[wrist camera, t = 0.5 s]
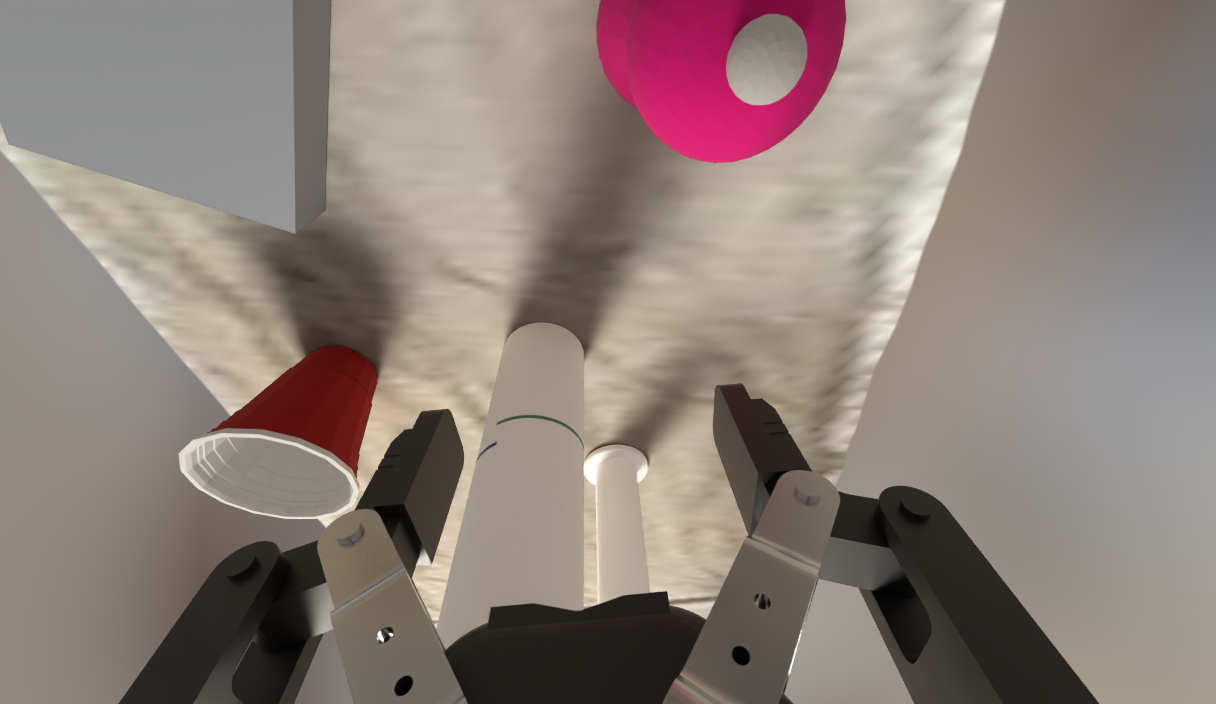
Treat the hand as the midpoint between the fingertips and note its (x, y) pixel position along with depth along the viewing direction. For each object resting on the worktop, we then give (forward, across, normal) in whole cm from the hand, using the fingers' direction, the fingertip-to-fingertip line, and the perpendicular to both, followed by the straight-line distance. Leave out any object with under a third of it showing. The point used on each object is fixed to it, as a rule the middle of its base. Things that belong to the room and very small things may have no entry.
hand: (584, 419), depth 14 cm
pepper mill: (+21, -5, -11) cm, 24 cm away
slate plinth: (+21, +21, -12) cm, 32 cm away
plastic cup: (+24, +23, +12) cm, 35 cm away
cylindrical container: (+24, +5, +11) cm, 27 cm away
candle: (+26, -1, +27) cm, 37 cm away
